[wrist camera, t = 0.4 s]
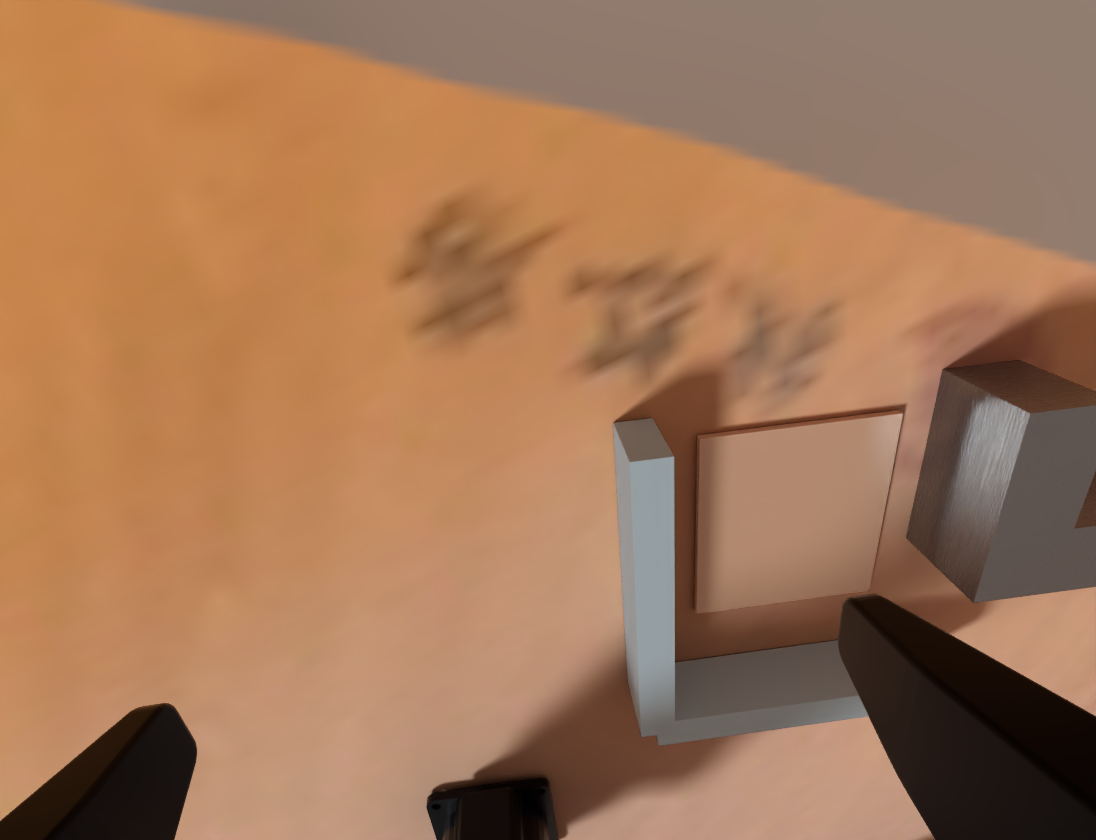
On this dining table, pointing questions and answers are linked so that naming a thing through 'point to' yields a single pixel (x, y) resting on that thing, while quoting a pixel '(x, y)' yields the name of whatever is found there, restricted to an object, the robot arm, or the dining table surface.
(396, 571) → the dining table surface
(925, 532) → the bracket
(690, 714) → the corner wall
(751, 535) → the tile
